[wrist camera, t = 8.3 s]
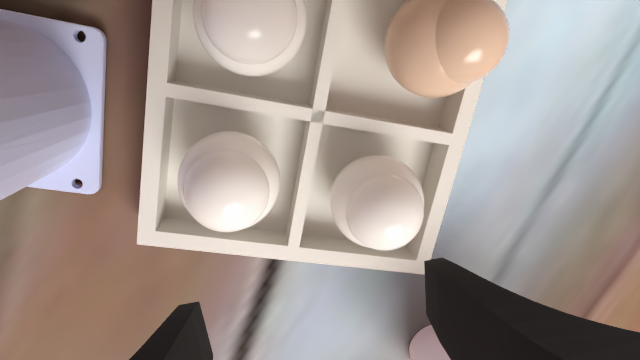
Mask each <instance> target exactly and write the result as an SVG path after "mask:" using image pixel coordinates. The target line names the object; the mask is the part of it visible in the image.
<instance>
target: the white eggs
mask: <svg viewBox="0 0 640 360" xmlns="http://www.w3.org/2000/svg"><path fill="white" fill-rule="evenodd" d="M193 19H194V25H195V30H196V32H197V35H198V38H199V40H200V42H201V44H202V46H203V47H204V49H205V50H206V52H207V53H208V54H209V55H210V56H211V57H212V58H213V59H214V60H215V61H216V62H217V63H218V64H220V65H221V66H222V67H224V68H226V69H228V70H229V71H232V72H234V73H237V74H241V75H245V76H263V75H267V74H271V73H273V72H276V71H278V70H280V69H281V68H283V67H284V66H286V65H287V64H288V63H289V62H290V61H291V60H292V59H293V58H294V57H295V55H296V54H297V53H298V51H299V49H300V47H301V45H302V43H303V40H304V38H305V34H306V29H307V10H306V5H305V1H304V0H194V3H193ZM177 185H178V191H179V195H180V198H181V200H182V203H183V205H184V206H185V208H186V210H187V211H188V212H189V213H190V215H191V216H192V217H193V218H194V219H195V220H196V221H197V222H199V223H200V224H201V225H203V226H205V227H206V228H209V229H211V230H214V231H218V232H234V231H239V230H242V229H246V228H248V227H251V226H253V225H254V224H256V223H258V222H259V221H261V220H262V219H263V218H264V217H265V216H266V215H267V214H268V213H269V212H270V210H271V209H272V208H273V206H274V204H275V202H276V200H277V197H278V194H279V190H280V172H279V168H278V165H277V162H276V160H275V158H274V156H273V155H272V153H271V152H270V150H269V149H268V148H267V147H266V146H265V145H264V144H263V143H262V142H260V141H259V140H257V139H256V138H254V137H252V136H250V135H247V134H245V133H241V132H235V131H222V132H216V133H213V134H210V135H208V136H205V137H204V138H202V139H200V140H199V141H197V142H196V143H195V144H194V145H193V146H192V147H191V148H190V149H189V150H188V151H187V153H186V154H185V156H184V158H183V160H182V162H181V164H180V167H179V171H178V183H177ZM330 210H331V214H332V217H333V220H334V222H335V224H336V225H337V227H338V229H339V230H340V231H341V232H342V233H343V234H344V235H345V236H346V237H347V238H348V239H349V240H351V241H352V242H354V243H356V244H358V245H361V246H364V247H368V248H372V249H375V250H383V251H387V250H394V249H397V248H400V247H402V246H404V245H406V244H407V243H409V242H410V241H411V240H412V239H413V238H414V237H415V236H416V235H417V233H418V232H419V230H420V228H421V225H422V222H423V217H424V194H423V189H422V186H421V184H420V182H419V180H418V178H417V176H416V175H415V173H414V172H413V171H412V170H411V169H410V168H409V167H408V166H407V165H406V164H404V163H403V162H401V161H399V160H397V159H395V158H393V157H389V156H385V155H368V156H364V157H361V158H358V159H356V160H354V161H352V162H351V163H349V164H348V165H347V166H345V167H344V168H343V169H342V170H341V172H340V173H339V174H338V175H337V177H336V179H335V181H334V183H333V185H332V188H331V193H330Z"/></svg>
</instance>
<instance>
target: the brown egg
mask: <svg viewBox="0 0 640 360" xmlns="http://www.w3.org/2000/svg"><path fill="white" fill-rule="evenodd" d="M508 41H509V24H508V20H507V18H506V15H505V13H504V11H503V10H502V8H501V7H500V6H499V5H498V4H497V3H496V2H495V1H494V0H408V1H407V2H405V3H404V4H403V5H402V6H401V7H400V8H399V10H398V11H397V12H396V14H395V15H394V16H393V18H392V20H391V22H390V24H389V27H388V29H387V32H386V37H385V44H384V53H385V59H386V63H387V66H388V68H389V71H390V73H391V75H392V76H393V78H394V79H395V80H396V81H397V82H398V83H399V84H400V86H402V87H403V88H404V89H406V90H407V91H409V92H411V93H413V94H416V95H418V96H422V97H428V98H439V97H445V96H449V95H452V94H455V93H457V92H459V91H461V90H463V89H464V88H466V87H467V86H469V85H470V84H471V83H472V82H474V81H477V80H479V79H481V78H483V77H484V76H486V75H487V74H489V73H490V72H491V71H492V70H493V69H494V68H495V67H496V66H497V65H498V64H499V62H500V61H501V59H502V58H503V56H504V54H505V52H506V49H507V46H508Z"/></svg>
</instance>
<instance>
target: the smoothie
mask: <svg viewBox="0 0 640 360" xmlns="http://www.w3.org/2000/svg"><path fill="white" fill-rule="evenodd" d="M409 355H410V358H411V360H451V359H450V358H449V356H448V355H447V353H446V351H445V350H444V348H443V347H442V345H441V343H440V342H439V340H438V338H437V336H436V333H435V331H434V329H433V327H432V325H428V326H426V327H424V328H423V329H421V330H420V331H419V332H417V333H416V335H415V336H414V337H413V339H412V340H411V343H410V346H409Z"/></svg>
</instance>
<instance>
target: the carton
mask: <svg viewBox="0 0 640 360" xmlns="http://www.w3.org/2000/svg"><path fill="white" fill-rule="evenodd" d="M304 1H305V5H306V10H307V29H306V34H305V38H304V40H303V43H302V45H301V47H300V49H299V51H298V53H297V54H296V55H295V57H294V58H293V59H292V60H291V61H290V62H289V63H288V64H287V65H286V66H284V67H283V68H281V69H280V70H278V71H276V72H273V73H271V74H267V75H263V76H245V75H241V74H237V73H234V72H232V71H229V70H228V69H226V68H224V67H222V66H221V65H220V64H218V63H217V62H216V61H215V60H214V59H213V58H212V57H211V56H210V55H209V54H208V53H207V52H206V50H205V49H204V47H203V46H202V44H201V42H200V40H199V38H198V35H197V32H196V30H195V25H194V19H193V3H194V0H152V15H151V31H150V46H149V62H148V78H147V93H146V109H145V124H144V140H143V156H142V171H141V187H140V203H139V218H138V234H137V244H139V245H149V246H158V247H168V248H177V249H187V250H196V251H205V252H215V253H224V254H234V255H243V256H252V257H262V258H271V259H281V260H290V261H300V262H309V263H318V264H328V265H337V266H347V267H356V268H366V269H375V270H384V271H394V272H403V273H413V274H422V275H425V267H424V261H427V260H431V257H432V253H433V250H434V247H435V243H436V240H437V236H438V233H439V230H440V226H441V223H442V220H443V216H444V213H445V209H446V206H447V203H448V199H449V196H450V192H451V189H452V186H453V182H454V179H455V176H456V172H457V169H458V165H459V162H460V159H461V155H462V152H463V148H464V145H465V142H466V138H467V135H468V132H469V128H470V125H471V121H472V118H473V115H474V111H475V108H476V105H477V101H478V98H479V94H480V91H481V88H482V84H483V81H484V77H485V76H484V77H483V78H481V79H479V80H477V81H474V82H472V83H471V84H470V85H469V86H467V87H466V88H464V89H463V90H461V91H459V92H457V93H455V94H452V95H449V96H445V97H439V98H428V97H422V96H418V95H416V94H413V93H411V92H409V91H407V90H406V89H404V88H403V87H402V86H400V84H399V83H398V82H397V81H396V80H395V79H394V78H393V76H392V75H391V73H390V71H389V68H388V66H387V63H386V59H385V53H384V44H385V37H386V32H387V29H388V27H389V24H390V22H391V20H392V18H393V16H394V15H395V14H396V12H397V11H398V10H399V8H400V7H401V6H402V5H403V4H404V3H405V2H407V1H408V0H304ZM494 1H495V2H496V3H497V4H498V5H499V6H500V7H501V8H502V10H503V11H504V10H505V6H506V3H507V0H494ZM222 131H235V132H241V133H245V134H247V135H250V136H252V137H254V138H256V139H257V140H259V141H260V142H262V143H263V144H264V145H265V146H266V147H267V148H268V149H269V150H270V152H271V153H272V155H273V156H274V158H275V160H276V162H277V165H278V168H279V172H280V190H279V194H278V197H277V200H276V202H275V204H274V206H273V208H272V209H271V210H270V212H269V213H268V214H267V215H266V216H265V217H264V218H263V219H262V220H261V221H259V222H258V223H256V224H254V225H253V226H251V227H248V228H246V229H242V230H239V231H234V232H218V231H214V230H211V229H209V228H206V227H205V226H203V225H201V224H200V223H199V222H197V221H196V220H195V219H194V218H193V217H192V216H191V215H190V213H189V212H188V211H187V210H186V208H185V206H184V205H183V203H182V200H181V198H180V195H179V191H178V185H177V183H178V171H179V167H180V164H181V162H182V160H183V158H184V156H185V154H186V153H187V151H188V150H189V149H190V148H191V147H192V146H193V145H194V144H195V143H196V142H197V141H199V140H200V139H202V138H204V137H205V136H208V135H210V134H213V133H216V132H222ZM368 155H385V156H389V157H393V158H395V159H397V160H399V161H401V162H403V163H404V164H406V165H407V166H408V167H409V168H410V169H411V170H412V171H413V172H414V173H415V175H416V176H417V178H418V180H419V182H420V184H421V186H422V189H423V194H424V217H423V222H422V225H421V228H420V230H419V232H418V233H417V235H416V236H415V237H414V238H413V239H412V240H411V241H410V242H409V243H407V244H406V245H404V246H402V247H400V248H397V249H394V250H387V251H383V250H375V249H372V248H368V247H364V246H361V245H358V244H356V243H354V242H352V241H351V240H349V239H348V238H347V237H346V236H345V235H344V234H343V233H342V232H341V231H340V230H339V229H338V227H337V225H336V224H335V222H334V220H333V217H332V214H331V210H330V193H331V188H332V185H333V183H334V181H335V179H336V177H337V175H338V174H339V173H340V172H341V170H342V169H343V168H344V167H345V166H347V165H348V164H349V163H351V162H352V161H354V160H356V159H358V158H361V157H364V156H368Z"/></svg>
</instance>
